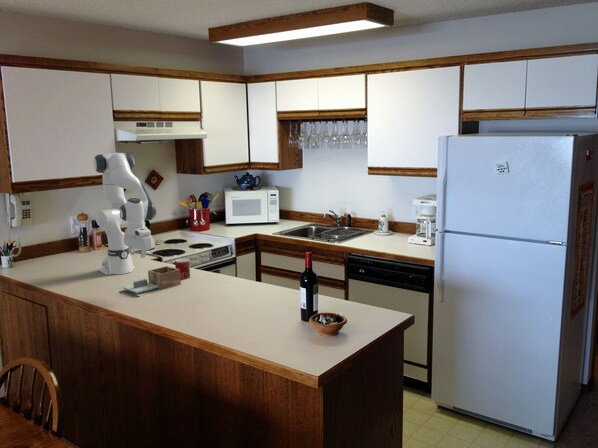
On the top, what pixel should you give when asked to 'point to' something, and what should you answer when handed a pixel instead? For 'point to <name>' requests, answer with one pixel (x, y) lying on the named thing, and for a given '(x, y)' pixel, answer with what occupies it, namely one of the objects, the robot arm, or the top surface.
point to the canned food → (183, 267)
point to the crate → (164, 277)
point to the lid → (140, 286)
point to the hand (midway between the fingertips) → (137, 256)
